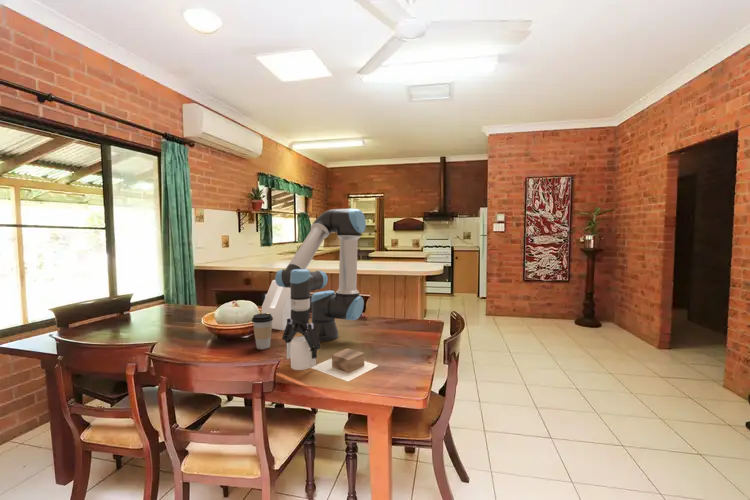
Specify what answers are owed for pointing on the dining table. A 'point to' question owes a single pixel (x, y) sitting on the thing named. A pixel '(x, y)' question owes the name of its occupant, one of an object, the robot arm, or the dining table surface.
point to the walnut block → (348, 360)
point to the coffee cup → (262, 330)
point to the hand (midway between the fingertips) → (301, 362)
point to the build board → (328, 369)
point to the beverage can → (299, 353)
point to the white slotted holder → (278, 305)
